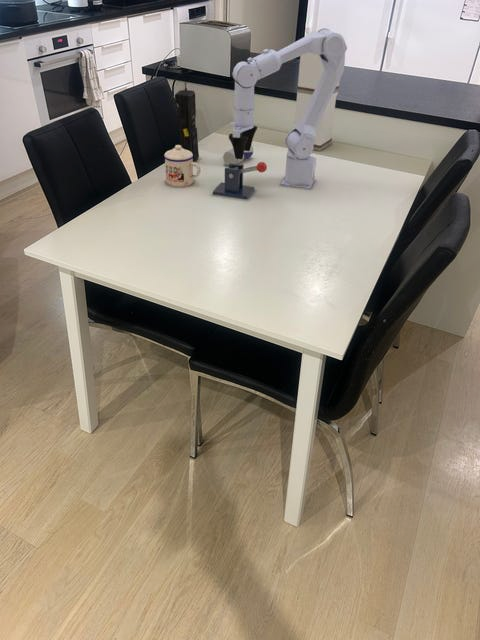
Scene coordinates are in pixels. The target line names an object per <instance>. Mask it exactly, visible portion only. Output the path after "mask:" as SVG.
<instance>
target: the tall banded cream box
mask: <svg viewBox="0 0 480 640" xmlns="http://www.w3.org/2000/svg"><path fill="white" fill-rule="evenodd" d="M299 57H300V58H299V67H298V68H299V69H298V80H297V91H296V101H295V112H294V113H295V114H294V115H295V116H294V126H295V124H297V123H298V122H299V121H300V120H301V118H302V116H303V114H304V112H305V110H306V108H307V106H308V103H309V101H310V99H311V97H312V95H313V93H314V91H315V88H316V86H317V84H318V82H319V80H320V78H321V76H322V73H323V71H324V66H323V63H322V60H321V57H320V56H319V55H318V54H313V53H306V54H304V55H301V56H299ZM340 81H341V79H340V80H339V82H338V84H337V86H336V88H335V90H334V93H333V95H332V97H331V99H330V101H329V103H328V105H327V107H326V109H325V111H324V113H323V115H322V117H321V119H320V121H319V123H318V125H317V127H316V139H315V141H314V146H313V151H317V152H321V151H322V150H324V149H325V148H327V147H329V146H330V145H332V140H333V138H332V131H333V124H334V117H335V111H336V110H335V109H336V101H337V96H338V95H339V88H340ZM294 126H293V127H294Z"/></svg>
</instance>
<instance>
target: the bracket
mask: <svg viewBox="0 0 480 640" xmlns="http://www.w3.org/2000/svg"><path fill="white" fill-rule="evenodd" d="M235 167H238V168H239V169H244V164H240V163H238V164H232V163H230V164H229V166H228V167H224V182H223V181H221V182H220V183H219V184H218V185H217V186H216V187H215V189H214V190H213V191H212V195H214V196H220V197H221V196H222V197H227V198H234V199H242V200H248V199H249V198H250V197H251V195H252V193H253V192H254V191H255V187H254V186H250V185H244V173H240V170H239V169H232V168H235Z"/></svg>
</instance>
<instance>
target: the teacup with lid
mask: <svg viewBox="0 0 480 640" xmlns="http://www.w3.org/2000/svg"><path fill="white" fill-rule="evenodd" d="M163 158H164V164H165V165H164V166H165V181H166V184H168V185H169V186H172V187H187V186H189V185H192V184H193V183H194V179H196V178H198V177H199V176H200V174H201V166H200V165H199V163H197V162H196V161H195V162H193V154H192V152H190V151H188V150H185V149H183V148H182V147H181V145H180V144H175V146H174V147H173V148H172V149H169V150H167V151H166V152H165V153H164V155H163ZM194 167H196V170H197V171H196V174H194Z"/></svg>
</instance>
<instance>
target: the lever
mask: <svg viewBox="0 0 480 640" xmlns="http://www.w3.org/2000/svg"><path fill="white" fill-rule="evenodd" d="M267 168H268V166H267V164H266V162H264V161H260V162H258V163H257V164H256V165H255V166H250V167H245V168H244V167H243V169H239V168H238V167H235V168H232V169H239V170H240V173H243V174H244V173H251V172H255V171H257V172H259V173H265V172H266V171H267Z"/></svg>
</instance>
